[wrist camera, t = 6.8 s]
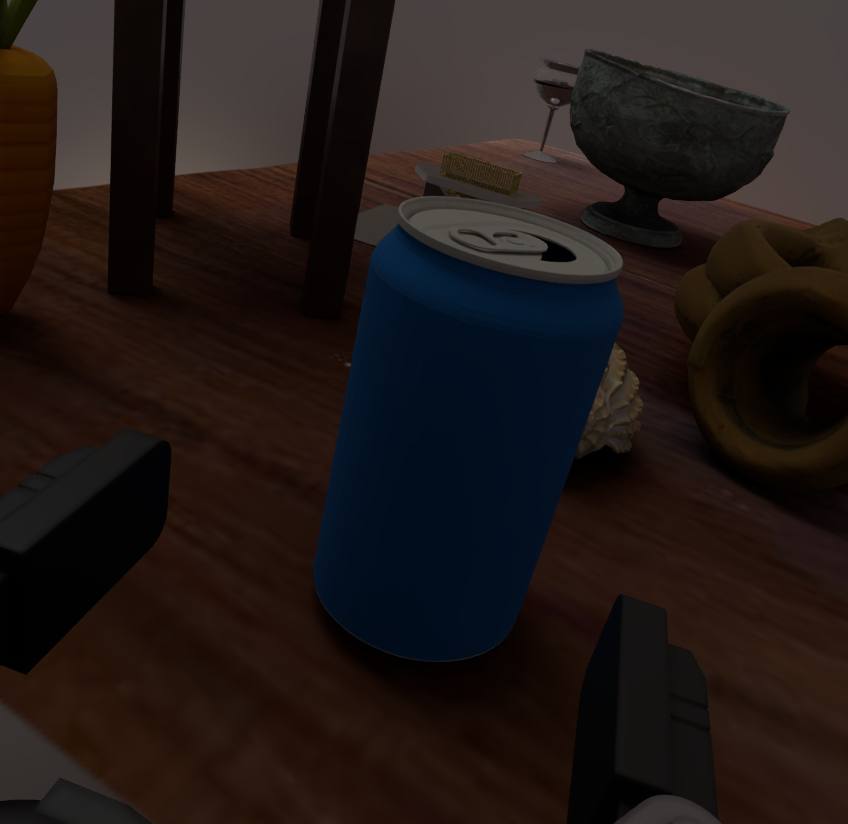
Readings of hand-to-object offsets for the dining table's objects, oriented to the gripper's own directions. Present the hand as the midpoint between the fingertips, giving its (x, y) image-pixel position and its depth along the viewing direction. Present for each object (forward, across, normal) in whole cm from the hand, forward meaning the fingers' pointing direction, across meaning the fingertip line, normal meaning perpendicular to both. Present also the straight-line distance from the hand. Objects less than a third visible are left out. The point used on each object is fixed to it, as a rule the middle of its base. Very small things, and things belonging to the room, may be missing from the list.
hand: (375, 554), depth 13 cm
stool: (+33, +19, +8) cm, 39 cm away
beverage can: (+9, 0, +8) cm, 12 cm away
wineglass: (+102, +8, +8) cm, 103 cm away
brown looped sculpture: (+36, -14, +8) cm, 40 cm away
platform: (+48, +7, +8) cm, 50 cm away
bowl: (+71, -6, +8) cm, 72 cm away
